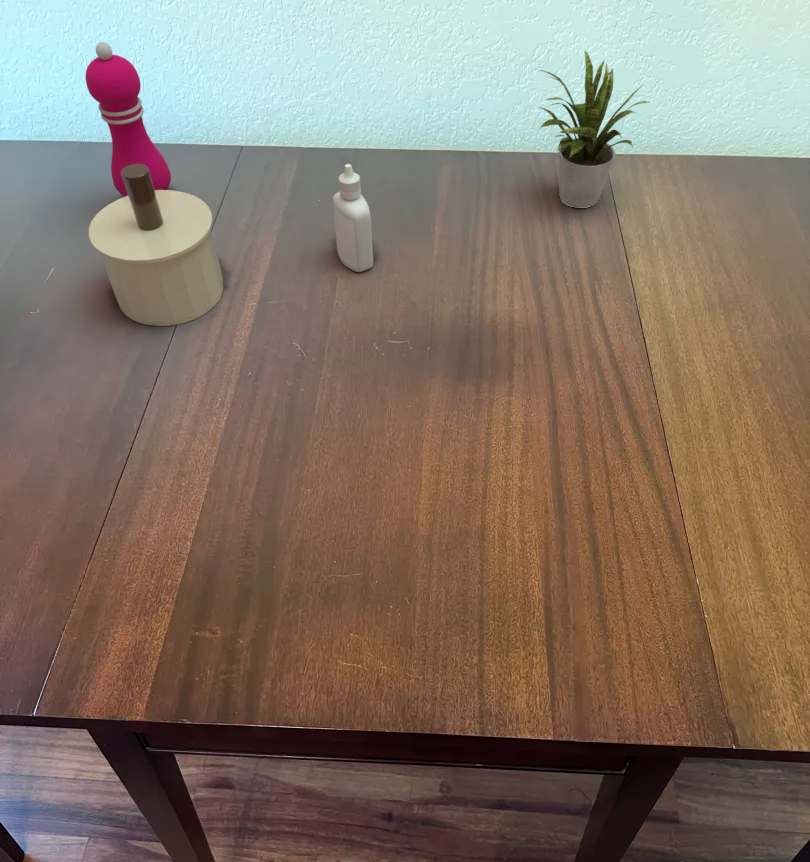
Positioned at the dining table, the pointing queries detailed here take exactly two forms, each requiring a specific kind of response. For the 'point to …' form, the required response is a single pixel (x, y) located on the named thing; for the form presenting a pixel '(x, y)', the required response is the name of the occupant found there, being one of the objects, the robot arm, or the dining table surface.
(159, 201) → the lid
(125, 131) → the pepper mill
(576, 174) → the house plant
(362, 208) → the eye dropper bottle
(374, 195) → the dining table surface
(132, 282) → the pot
